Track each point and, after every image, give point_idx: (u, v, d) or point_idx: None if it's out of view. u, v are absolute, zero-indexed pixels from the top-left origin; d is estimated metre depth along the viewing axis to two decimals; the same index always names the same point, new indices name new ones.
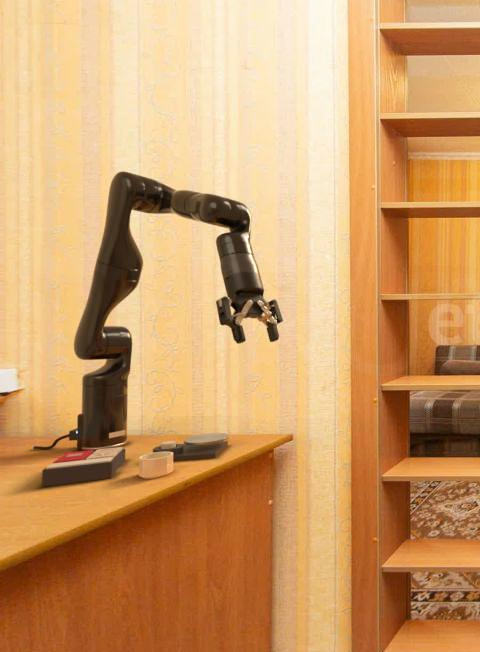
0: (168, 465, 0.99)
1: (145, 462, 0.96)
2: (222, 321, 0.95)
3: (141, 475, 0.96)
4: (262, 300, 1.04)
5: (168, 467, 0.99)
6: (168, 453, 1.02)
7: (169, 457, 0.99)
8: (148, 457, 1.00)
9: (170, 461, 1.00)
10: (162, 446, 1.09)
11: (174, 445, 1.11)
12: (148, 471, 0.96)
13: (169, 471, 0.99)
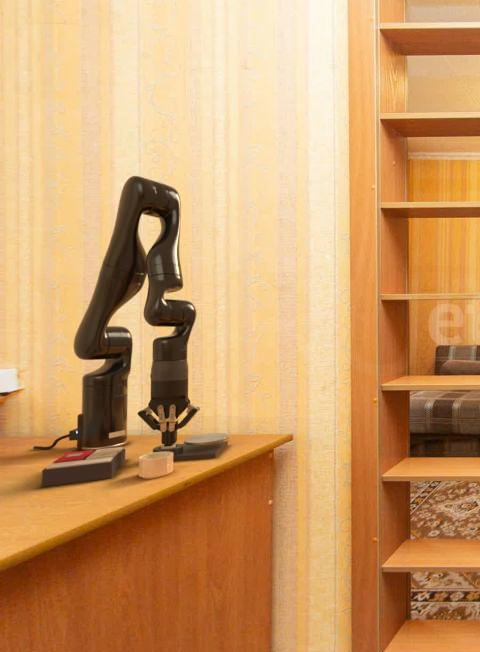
0: (168, 465, 0.99)
1: (145, 462, 0.96)
2: None
3: (141, 475, 0.96)
4: (181, 402, 1.11)
5: (168, 467, 0.99)
6: (168, 453, 1.02)
7: (169, 457, 0.99)
8: (148, 457, 1.00)
9: (170, 461, 1.00)
10: None
11: None
12: (148, 471, 0.96)
13: (169, 471, 0.99)
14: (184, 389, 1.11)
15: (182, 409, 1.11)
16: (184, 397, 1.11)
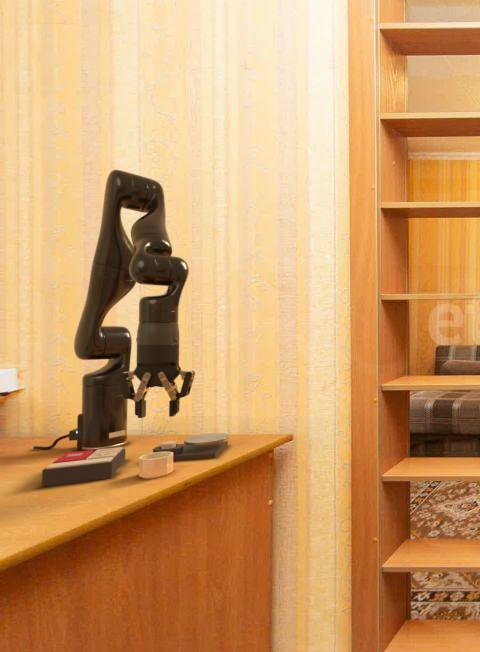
0: (168, 465, 0.99)
1: (145, 462, 0.96)
2: None
3: (141, 475, 0.96)
4: (171, 369, 0.99)
5: (168, 467, 0.99)
6: (168, 453, 1.02)
7: (169, 457, 0.99)
8: (148, 457, 1.00)
9: (170, 461, 1.00)
10: (162, 446, 1.09)
11: (174, 445, 1.11)
12: (148, 471, 0.96)
13: (169, 471, 0.99)
14: (174, 355, 0.99)
15: (172, 378, 0.99)
16: (174, 364, 1.00)
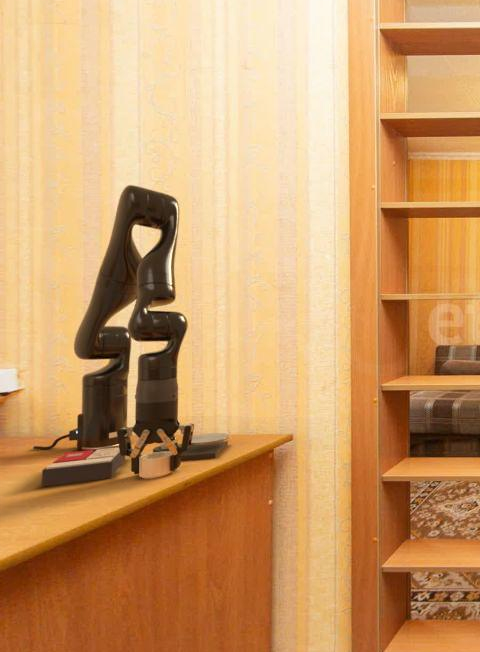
0: (168, 465, 0.99)
1: (145, 462, 0.96)
2: None
3: (141, 475, 0.96)
4: (170, 425, 0.99)
5: (168, 467, 0.99)
6: (168, 453, 1.02)
7: (169, 457, 0.99)
8: (148, 457, 1.00)
9: None
10: (162, 446, 1.09)
11: None
12: (148, 471, 0.96)
13: (169, 471, 0.99)
14: (173, 411, 0.99)
15: (171, 433, 0.99)
16: (173, 420, 1.00)
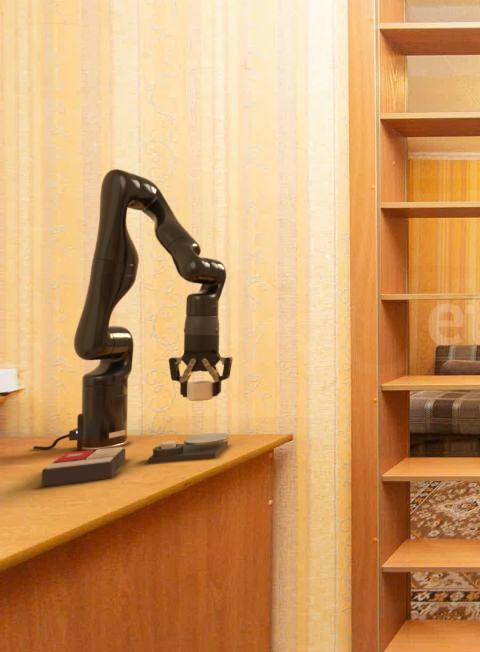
0: (211, 390, 1.15)
1: (192, 386, 1.12)
2: None
3: (189, 397, 1.12)
4: (213, 356, 1.15)
5: (211, 392, 1.15)
6: (210, 382, 1.18)
7: (212, 384, 1.15)
8: None
9: None
10: (162, 446, 1.09)
11: (174, 445, 1.11)
12: (195, 394, 1.12)
13: (212, 396, 1.15)
14: (215, 344, 1.15)
15: (213, 363, 1.15)
16: (215, 352, 1.15)
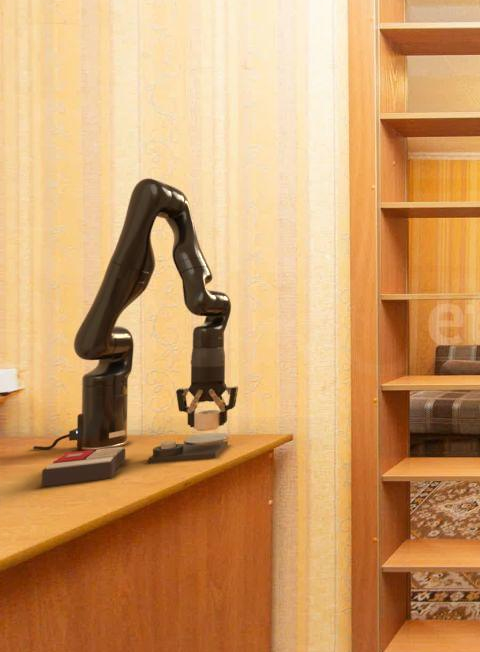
0: (218, 420, 1.18)
1: (199, 416, 1.15)
2: None
3: (196, 427, 1.15)
4: (219, 387, 1.18)
5: (218, 422, 1.18)
6: (216, 411, 1.20)
7: (218, 413, 1.18)
8: (200, 414, 1.19)
9: (219, 417, 1.18)
10: (162, 446, 1.09)
11: (174, 445, 1.11)
12: (202, 424, 1.15)
13: (218, 425, 1.18)
14: (221, 375, 1.18)
15: (220, 394, 1.18)
16: (221, 382, 1.18)
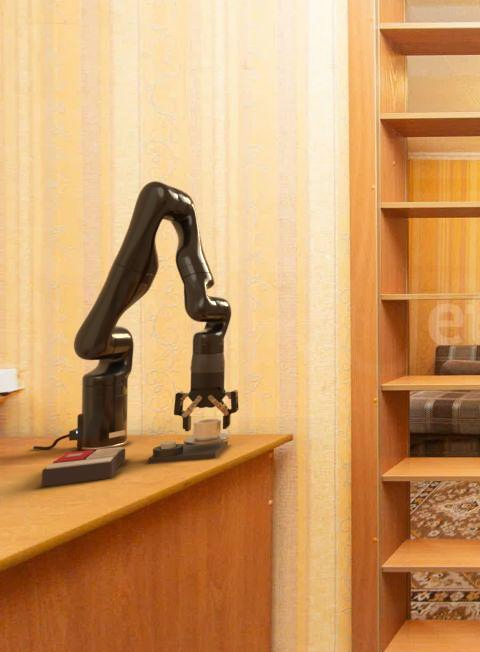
0: (217, 429, 1.18)
1: (199, 426, 1.15)
2: None
3: (196, 437, 1.15)
4: (218, 393, 1.18)
5: (217, 431, 1.18)
6: (216, 420, 1.20)
7: (218, 422, 1.18)
8: (200, 423, 1.19)
9: (219, 426, 1.18)
10: (162, 446, 1.09)
11: (174, 445, 1.11)
12: (202, 433, 1.15)
13: (218, 434, 1.18)
14: (221, 381, 1.18)
15: (219, 400, 1.18)
16: (221, 388, 1.18)
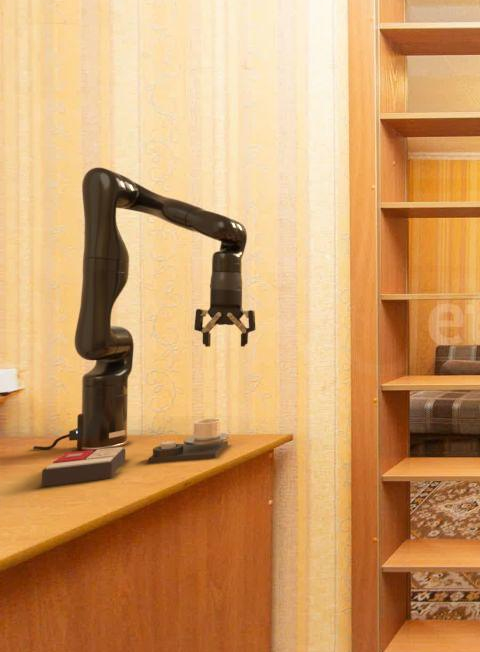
0: (217, 429, 1.18)
1: (199, 426, 1.15)
2: None
3: (196, 437, 1.15)
4: (237, 311, 1.23)
5: (217, 431, 1.18)
6: (216, 420, 1.20)
7: (218, 422, 1.18)
8: (200, 423, 1.19)
9: (219, 426, 1.18)
10: (162, 446, 1.09)
11: (174, 445, 1.11)
12: (202, 433, 1.15)
13: (218, 434, 1.18)
14: (239, 299, 1.23)
15: (237, 318, 1.23)
16: (239, 307, 1.23)
